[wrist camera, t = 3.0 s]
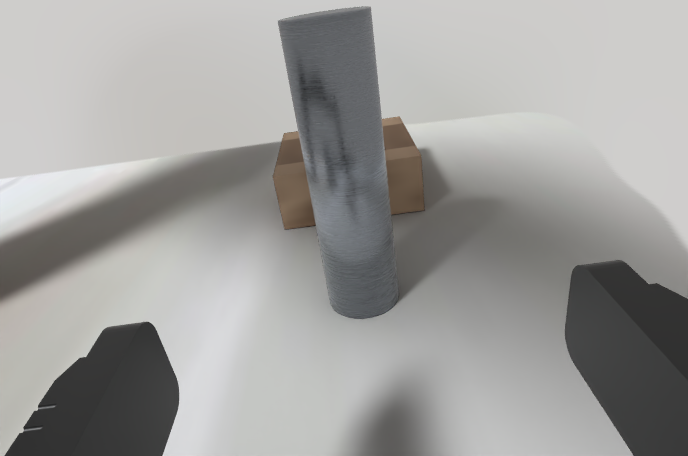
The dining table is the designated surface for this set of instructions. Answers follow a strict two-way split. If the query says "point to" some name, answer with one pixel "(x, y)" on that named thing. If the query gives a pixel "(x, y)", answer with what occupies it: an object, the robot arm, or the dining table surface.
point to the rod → (344, 154)
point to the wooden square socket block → (399, 164)
